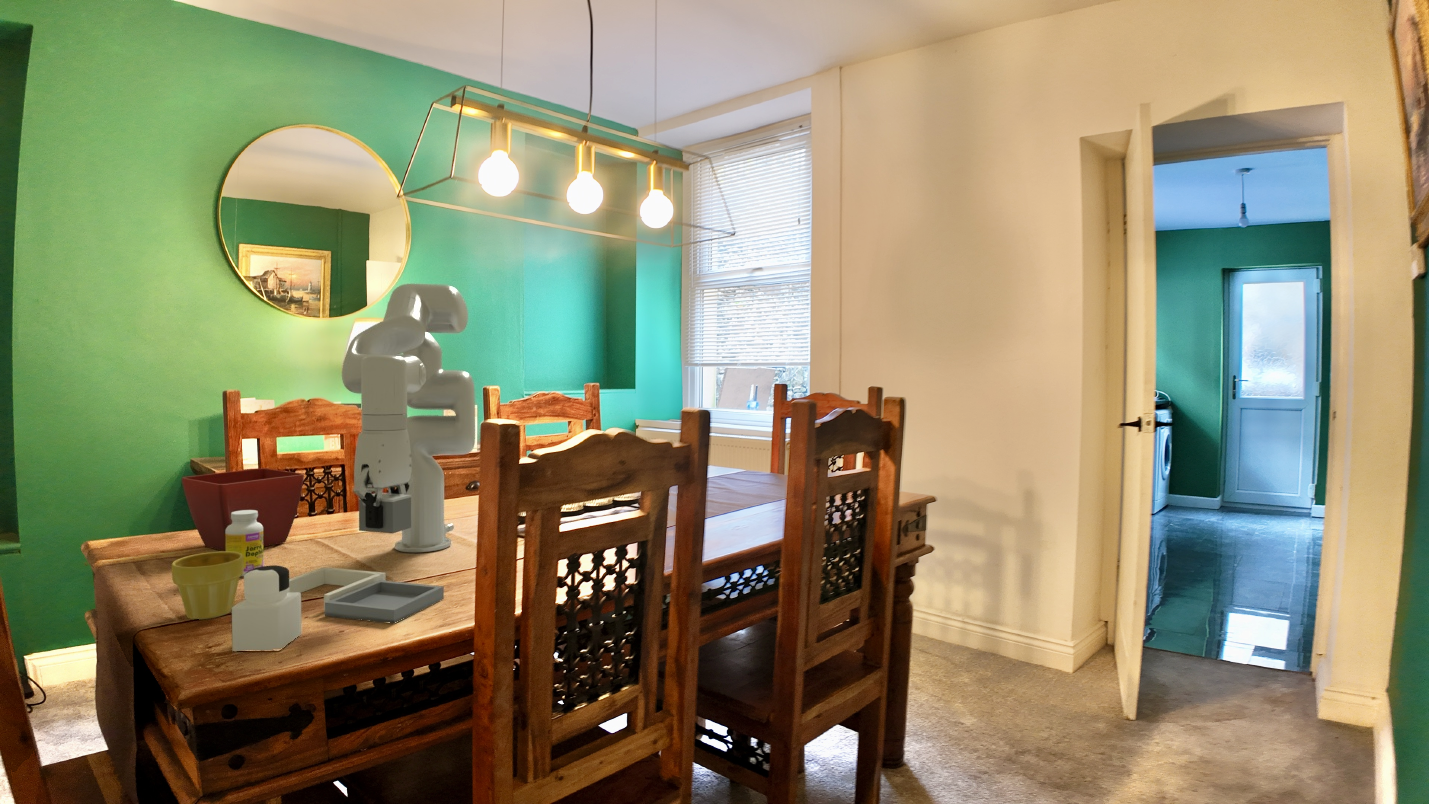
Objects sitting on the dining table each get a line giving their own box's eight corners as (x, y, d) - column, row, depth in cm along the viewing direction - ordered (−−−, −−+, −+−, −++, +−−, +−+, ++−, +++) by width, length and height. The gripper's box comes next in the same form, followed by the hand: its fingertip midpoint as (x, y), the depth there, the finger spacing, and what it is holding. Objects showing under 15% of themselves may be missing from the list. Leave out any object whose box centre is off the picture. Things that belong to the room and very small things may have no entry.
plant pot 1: (180, 547, 174) (179, 476, 173) (265, 532, 190) (264, 467, 189) (221, 559, 164) (220, 484, 163) (307, 542, 180) (306, 474, 179)
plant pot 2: (180, 628, 122) (179, 570, 121) (166, 613, 129) (165, 558, 128) (252, 613, 130) (251, 558, 129) (235, 600, 137) (234, 547, 136)
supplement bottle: (245, 578, 150) (244, 516, 149) (217, 576, 151) (216, 514, 151) (271, 569, 156) (270, 509, 156) (244, 567, 158) (243, 508, 157)
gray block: (378, 524, 137) (378, 492, 136) (411, 527, 135) (411, 494, 135) (359, 530, 132) (358, 497, 131) (392, 533, 130) (392, 499, 130)
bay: (324, 581, 149) (323, 566, 149) (385, 587, 145) (385, 572, 145) (263, 604, 135) (262, 587, 134) (329, 611, 131) (329, 595, 131)
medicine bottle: (256, 635, 119) (255, 562, 119) (302, 635, 120) (301, 562, 119) (231, 653, 112) (229, 575, 112) (280, 652, 113) (279, 574, 112)
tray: (379, 592, 142) (379, 580, 142) (443, 599, 139) (443, 586, 139) (325, 616, 129) (324, 602, 129) (394, 624, 126) (394, 610, 125)
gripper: (398, 420, 142) (398, 514, 142) (331, 427, 125) (332, 533, 126) (432, 421, 140) (432, 516, 141) (369, 428, 123) (370, 536, 124)
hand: (385, 523), depth 133 cm, fingers closed on gray block, 5 cm apart
